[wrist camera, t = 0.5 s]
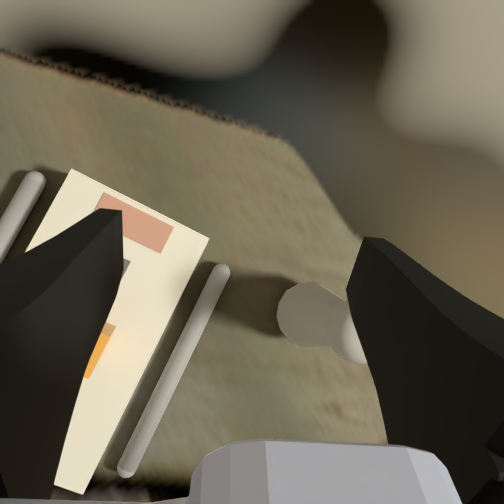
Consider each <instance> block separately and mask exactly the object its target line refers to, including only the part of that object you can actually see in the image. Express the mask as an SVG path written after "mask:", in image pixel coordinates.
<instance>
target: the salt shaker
mask: <svg viewBox="0 0 504 504" xmlns="http://www.w3.org/2000/svg"><path fill="white" fill-rule="evenodd" d="M276 317H277V320H278V324H279V327H280V330H281V331H282V333H283V334H284V335H285V336H286V337H287V338H288V340H289V341H290V342H292V343H294V344H297V345H300V346H302V347H320V348H332V349H333V350H334V351H335V352H336V353H337V355H338V356H339V357H341V358H343V359H345V360H348V361H350V362H353V363H357V364H363V363H367V360H366V358H365V355H364V352H363V349H362V346H361V344H360V341H359V338H358V335H357V332H356V329H355V327H354V324H353V321H352V318H351V313H350V309H349V304H348V300H347V301H345V300H343V299H342V298H341V297H339V296H338V295H336V294H335V293H333V292H332V291H331V290H329V289H328V288H326V287H324V286H322V285H320V284H318V283H315V282H305V283H299V284H297V285H295V286H293V287H292V288H290V289H288V290H286V292H285V293H284V295H283V297H282V298H281V300H280V301H279V304H278V310H277V315H276Z"/></svg>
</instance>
